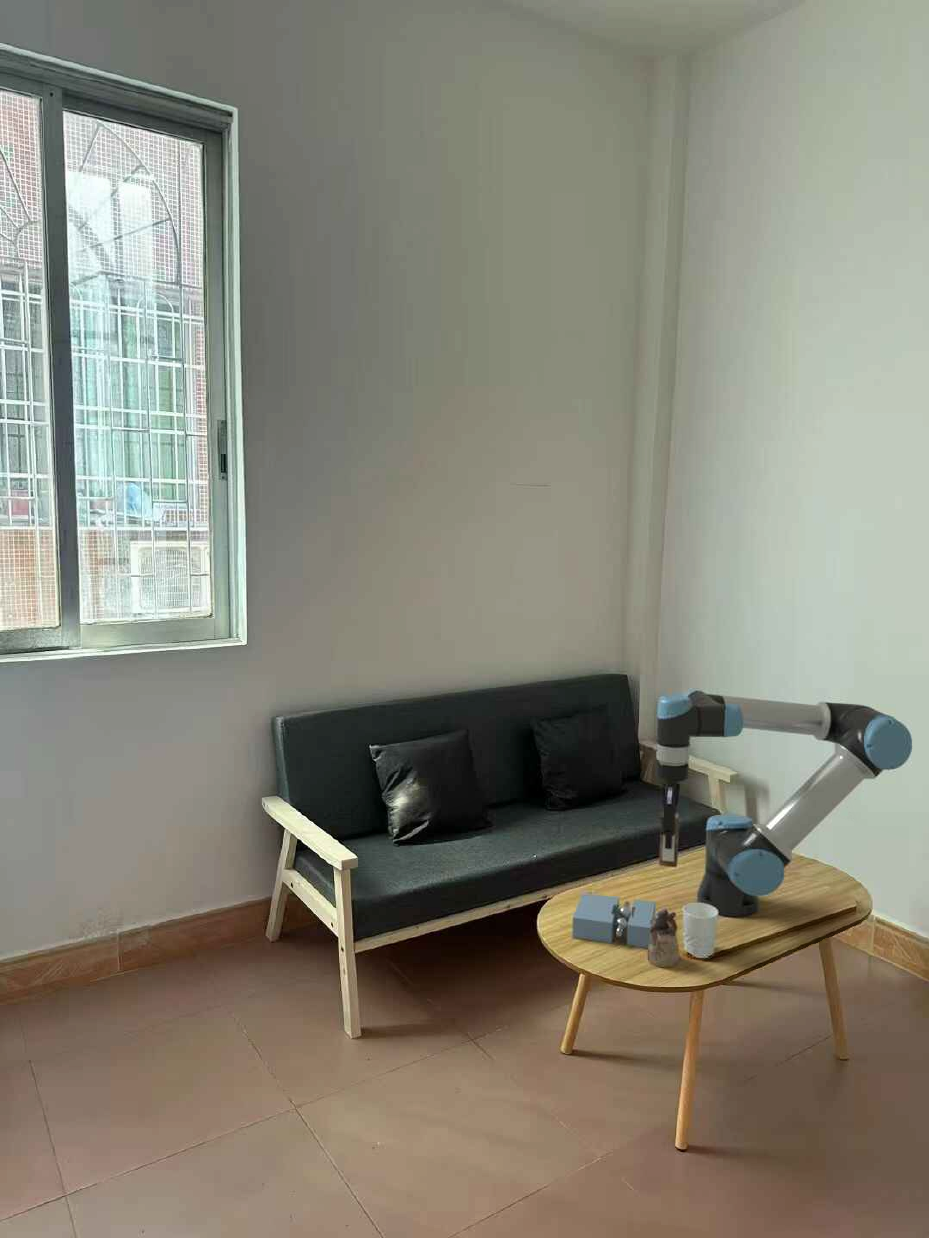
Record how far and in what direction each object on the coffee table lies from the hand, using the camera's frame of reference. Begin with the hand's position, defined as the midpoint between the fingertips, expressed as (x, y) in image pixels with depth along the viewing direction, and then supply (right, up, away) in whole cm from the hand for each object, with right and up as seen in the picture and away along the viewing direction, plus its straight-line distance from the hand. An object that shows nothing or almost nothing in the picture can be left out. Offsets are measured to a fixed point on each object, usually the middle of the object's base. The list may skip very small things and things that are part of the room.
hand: (668, 856), depth 212 cm
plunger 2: (-12, -18, -2) cm, 21 cm away
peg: (0, -2, 0) cm, 2 cm away
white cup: (+5, -20, -7) cm, 22 cm away
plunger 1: (-9, -16, +7) cm, 20 cm away
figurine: (-4, -21, -11) cm, 24 cm away
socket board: (-12, -18, +3) cm, 22 cm away
